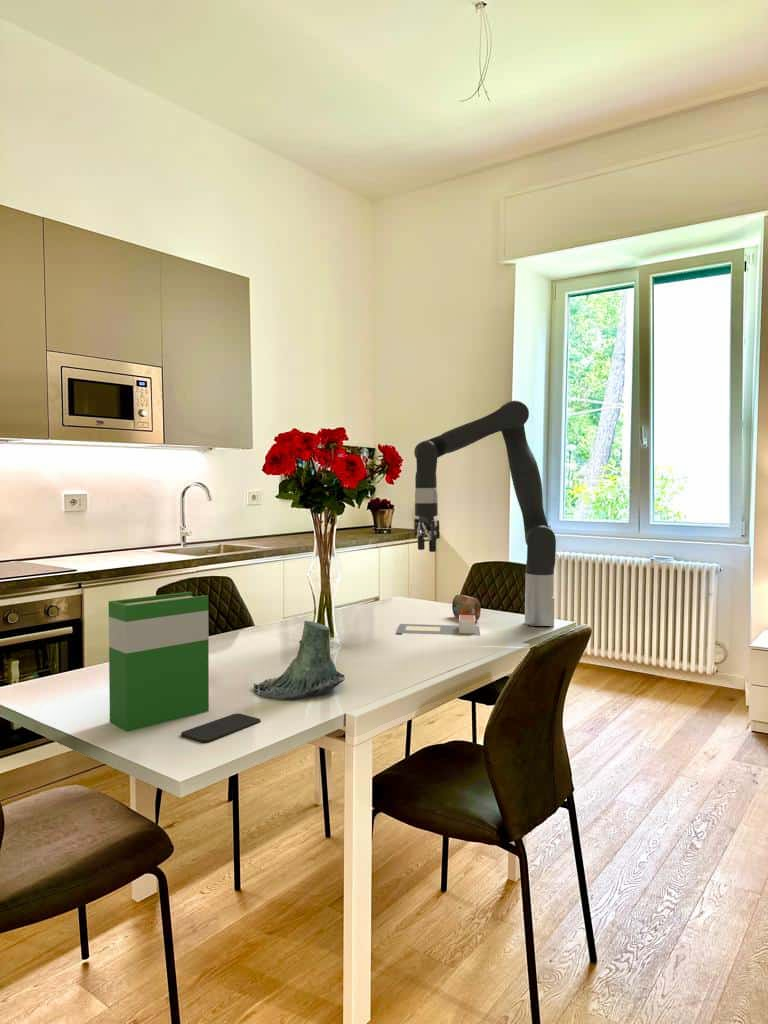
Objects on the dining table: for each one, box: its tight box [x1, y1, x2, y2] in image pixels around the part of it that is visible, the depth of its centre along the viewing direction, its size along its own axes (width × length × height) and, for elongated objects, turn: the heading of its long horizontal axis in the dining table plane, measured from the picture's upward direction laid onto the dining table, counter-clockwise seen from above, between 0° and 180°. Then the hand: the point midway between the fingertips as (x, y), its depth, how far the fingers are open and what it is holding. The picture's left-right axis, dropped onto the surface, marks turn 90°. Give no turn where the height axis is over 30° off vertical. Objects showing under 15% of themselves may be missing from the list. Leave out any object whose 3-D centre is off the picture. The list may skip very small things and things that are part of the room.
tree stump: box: [253, 620, 346, 701], centre depth 164 cm, size 18×20×18 cm
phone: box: [180, 713, 262, 744], centre depth 138 cm, size 7×1×15 cm
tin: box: [451, 594, 482, 622], centre depth 246 cm, size 15×3×8 cm, turn 25°
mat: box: [395, 623, 481, 637], centre depth 228 cm, size 26×14×1 cm, turn 84°
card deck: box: [458, 615, 476, 633], centre depth 227 cm, size 5×9×4 cm, turn 174°
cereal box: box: [108, 591, 210, 733], centre depth 144 cm, size 18×7×24 cm, turn 135°
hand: (426, 550), depth 236 cm, fingers open, 8 cm apart
